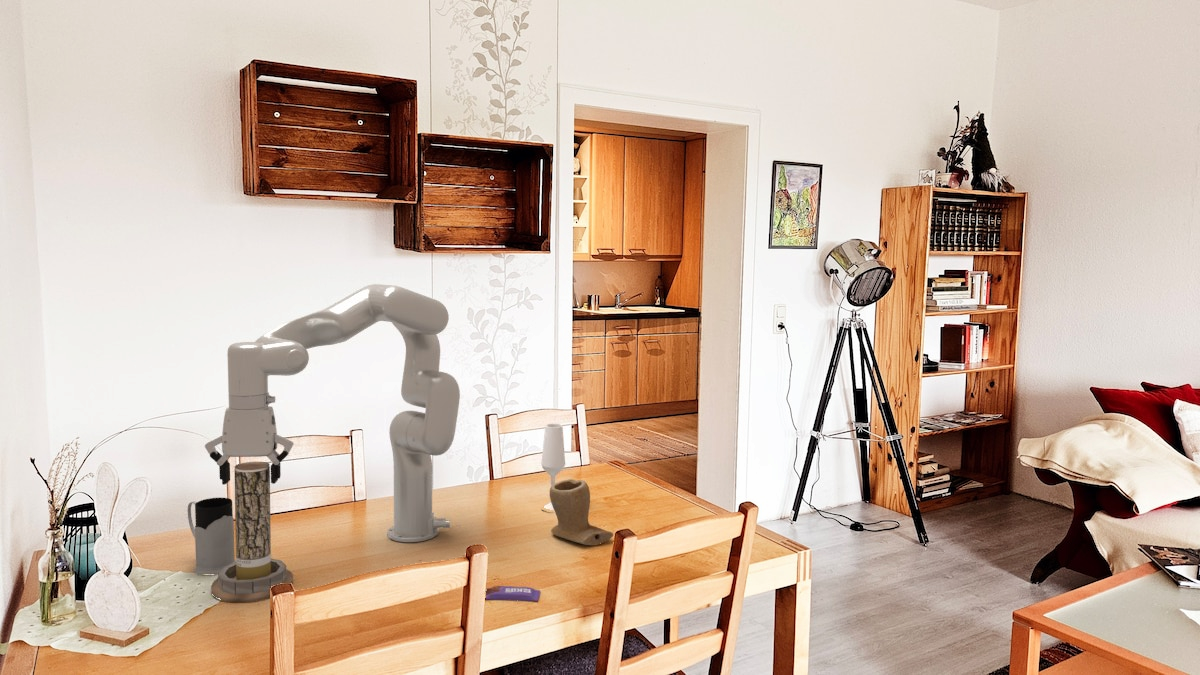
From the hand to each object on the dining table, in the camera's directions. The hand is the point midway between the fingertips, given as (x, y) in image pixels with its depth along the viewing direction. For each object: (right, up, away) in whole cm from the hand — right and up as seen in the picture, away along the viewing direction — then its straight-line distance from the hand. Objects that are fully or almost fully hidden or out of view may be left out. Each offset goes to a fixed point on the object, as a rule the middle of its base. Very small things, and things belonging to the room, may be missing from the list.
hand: (250, 482), depth 169 cm
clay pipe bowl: (+67, -21, +35) cm, 79 cm away
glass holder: (-15, -21, +13) cm, 29 cm away
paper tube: (0, -22, +3) cm, 22 cm away
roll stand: (-1, -23, +3) cm, 23 cm away
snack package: (+55, -25, +1) cm, 60 cm away
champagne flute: (+60, -18, +58) cm, 85 cm away
